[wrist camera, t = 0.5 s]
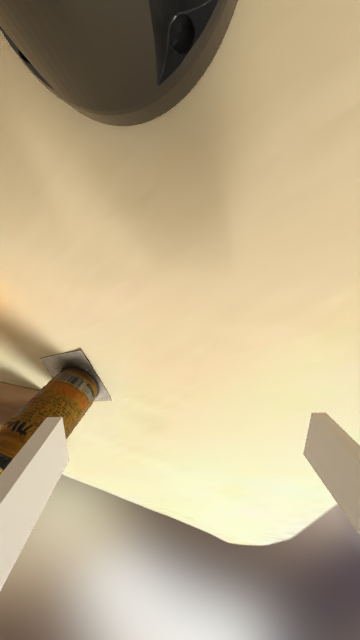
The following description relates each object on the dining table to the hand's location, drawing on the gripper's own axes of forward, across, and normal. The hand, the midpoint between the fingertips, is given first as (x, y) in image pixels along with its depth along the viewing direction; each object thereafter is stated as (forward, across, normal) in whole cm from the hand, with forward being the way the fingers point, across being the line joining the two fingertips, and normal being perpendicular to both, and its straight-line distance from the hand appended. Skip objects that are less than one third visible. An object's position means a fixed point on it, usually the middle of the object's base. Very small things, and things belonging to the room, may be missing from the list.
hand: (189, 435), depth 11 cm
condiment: (+17, -14, -7) cm, 23 cm away
